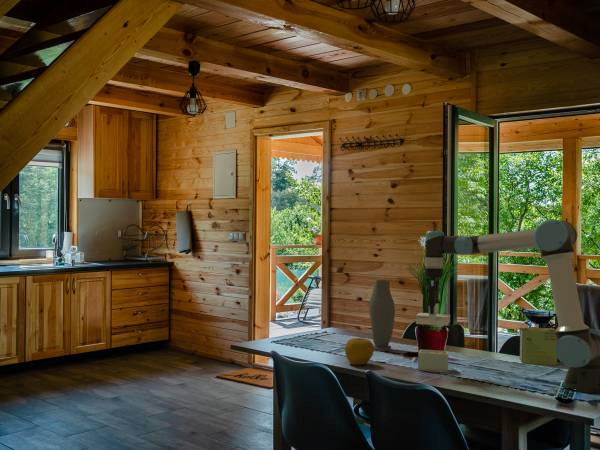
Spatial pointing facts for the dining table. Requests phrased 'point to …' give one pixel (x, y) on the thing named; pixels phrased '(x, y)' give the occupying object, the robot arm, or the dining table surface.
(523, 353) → the protein box
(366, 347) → the apple
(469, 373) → the dining table surface
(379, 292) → the vase
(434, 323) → the lid
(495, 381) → the dining table surface
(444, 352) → the tub
